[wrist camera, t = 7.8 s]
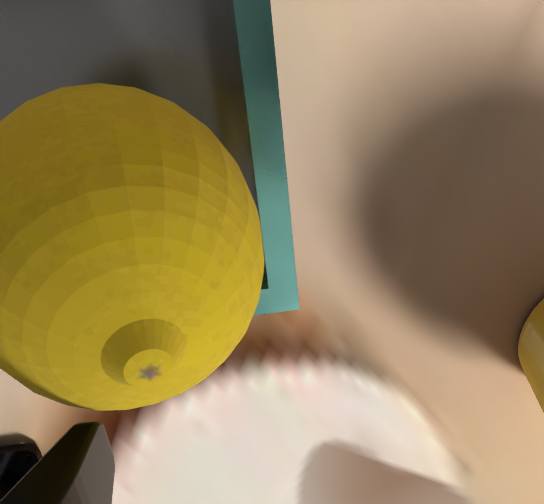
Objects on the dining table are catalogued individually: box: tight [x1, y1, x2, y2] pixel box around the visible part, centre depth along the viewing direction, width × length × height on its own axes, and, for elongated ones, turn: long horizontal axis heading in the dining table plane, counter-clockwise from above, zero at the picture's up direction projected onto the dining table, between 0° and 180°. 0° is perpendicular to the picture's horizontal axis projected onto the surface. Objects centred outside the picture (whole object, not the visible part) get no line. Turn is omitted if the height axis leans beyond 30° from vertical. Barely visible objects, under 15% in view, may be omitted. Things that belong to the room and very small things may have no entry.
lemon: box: [0, 83, 264, 411], centre depth 10 cm, size 6×6×8 cm
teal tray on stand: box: [0, 0, 299, 315], centre depth 15 cm, size 10×10×6 cm
